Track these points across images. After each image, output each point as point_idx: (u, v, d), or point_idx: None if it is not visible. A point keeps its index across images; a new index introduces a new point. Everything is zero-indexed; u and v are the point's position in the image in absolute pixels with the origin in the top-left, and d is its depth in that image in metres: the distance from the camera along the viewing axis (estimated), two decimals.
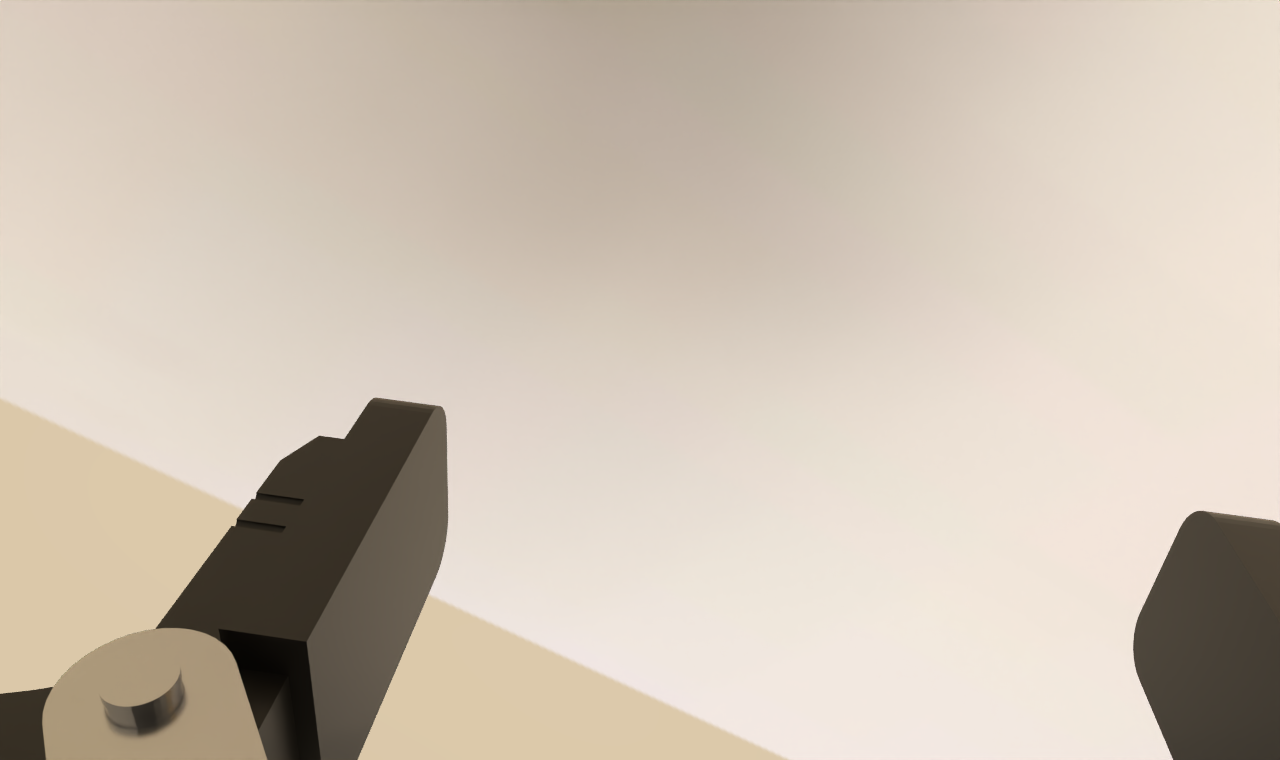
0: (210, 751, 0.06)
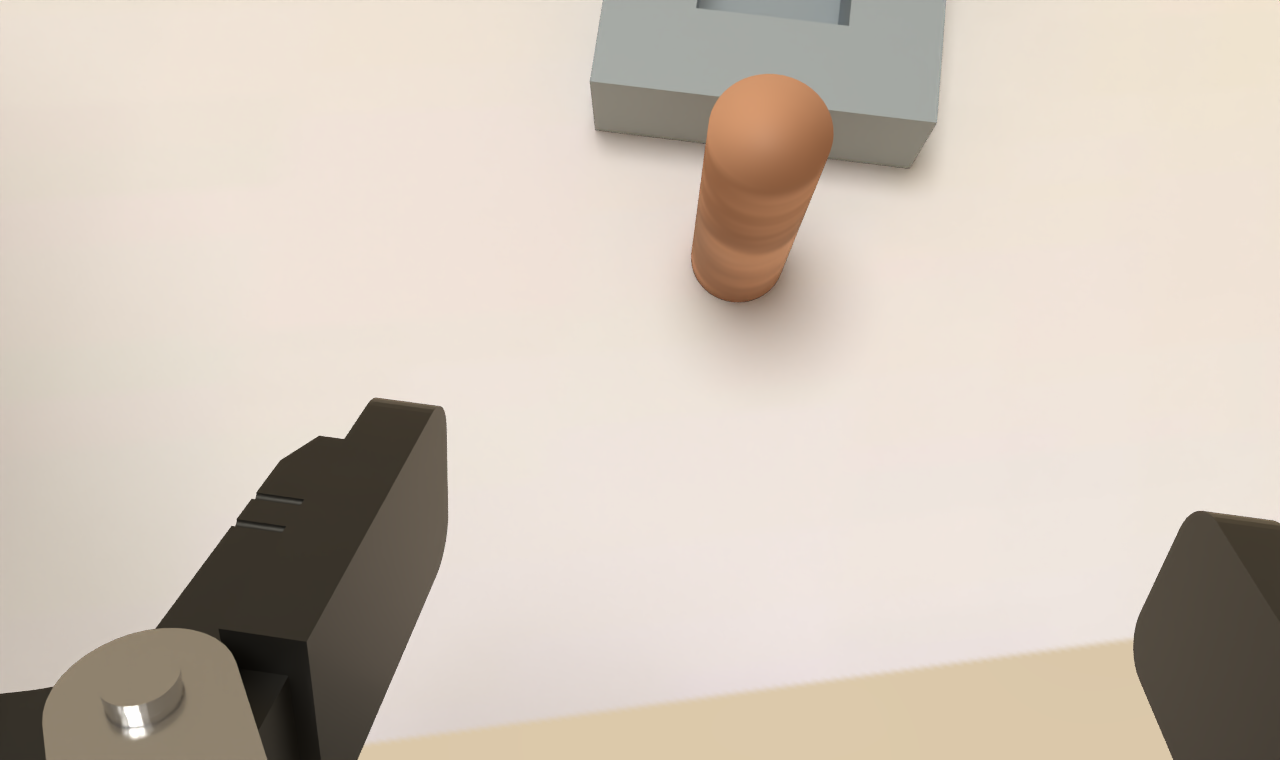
0: (210, 751, 0.06)
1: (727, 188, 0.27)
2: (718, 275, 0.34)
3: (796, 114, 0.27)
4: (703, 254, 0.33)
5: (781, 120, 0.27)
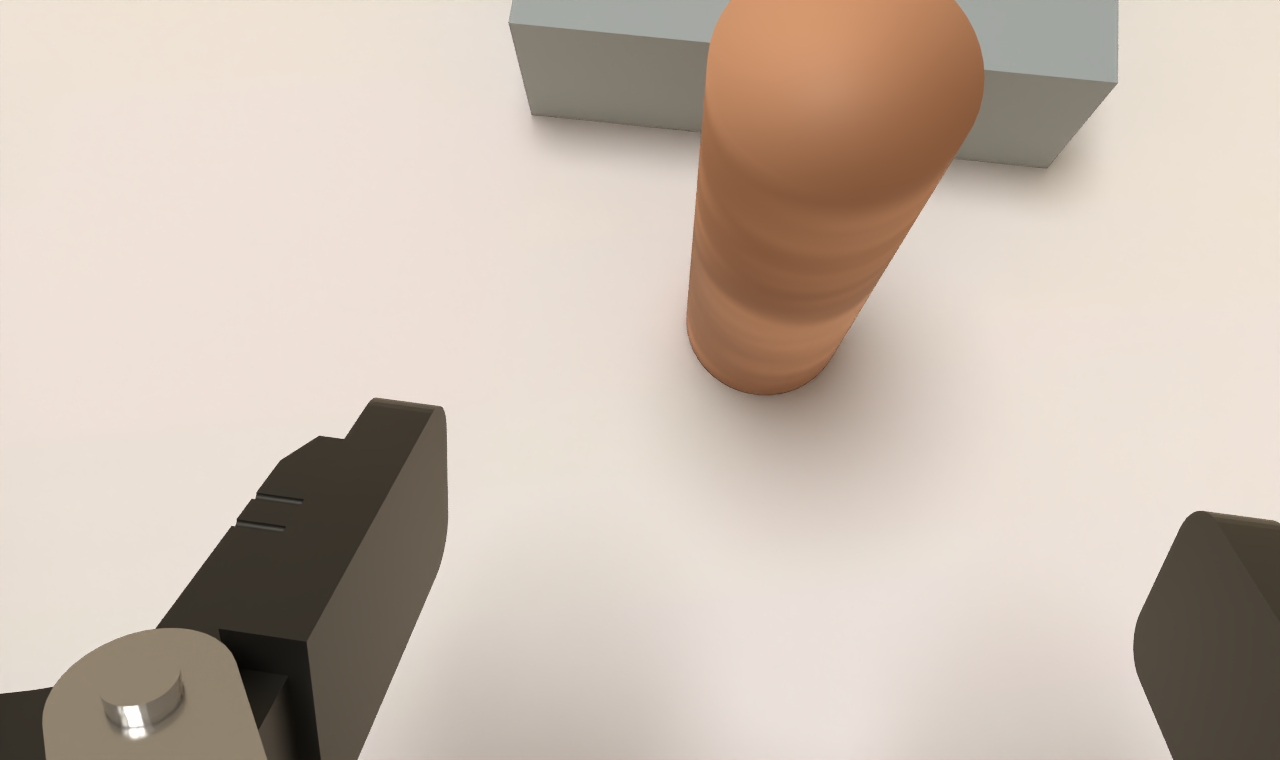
0: (210, 751, 0.06)
1: (750, 197, 0.13)
2: (731, 356, 0.19)
3: (899, 33, 0.12)
4: (705, 319, 0.19)
5: (868, 47, 0.12)
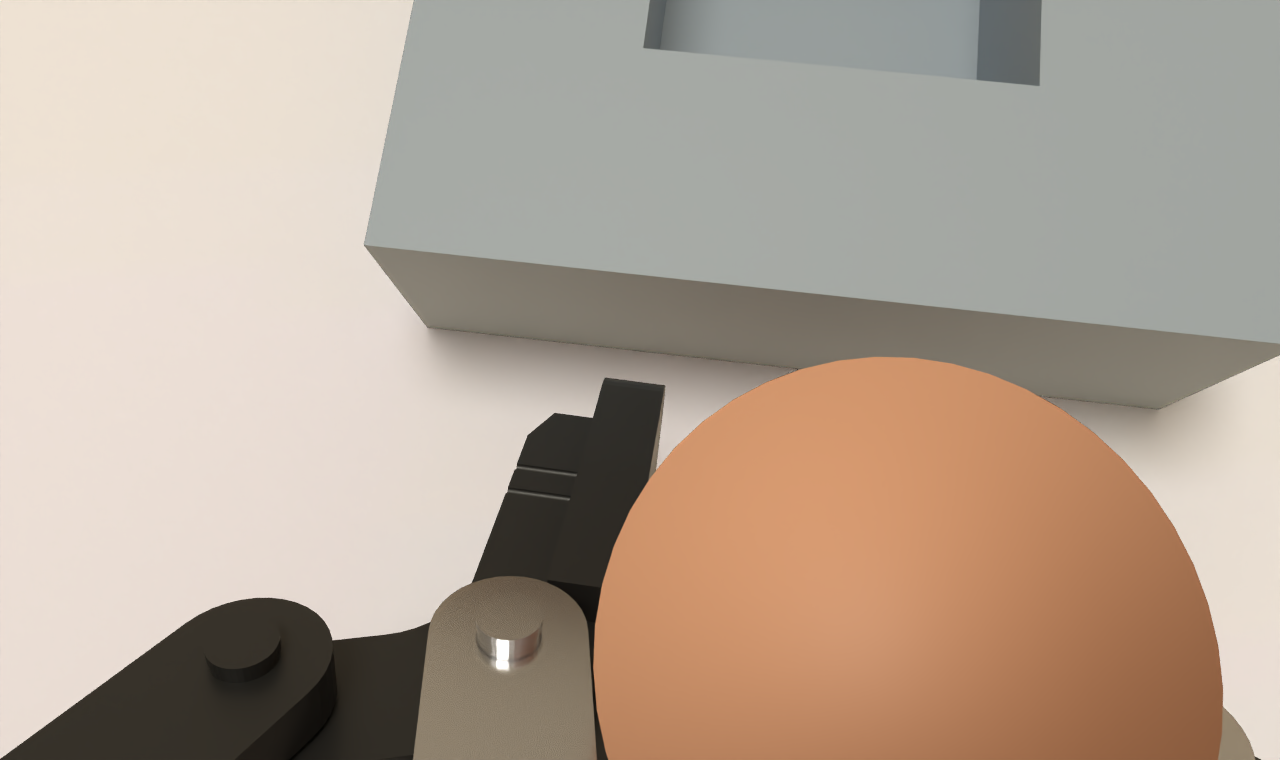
0: (587, 682, 0.07)
1: None
2: None
3: (1026, 566, 0.05)
4: None
5: (955, 602, 0.05)
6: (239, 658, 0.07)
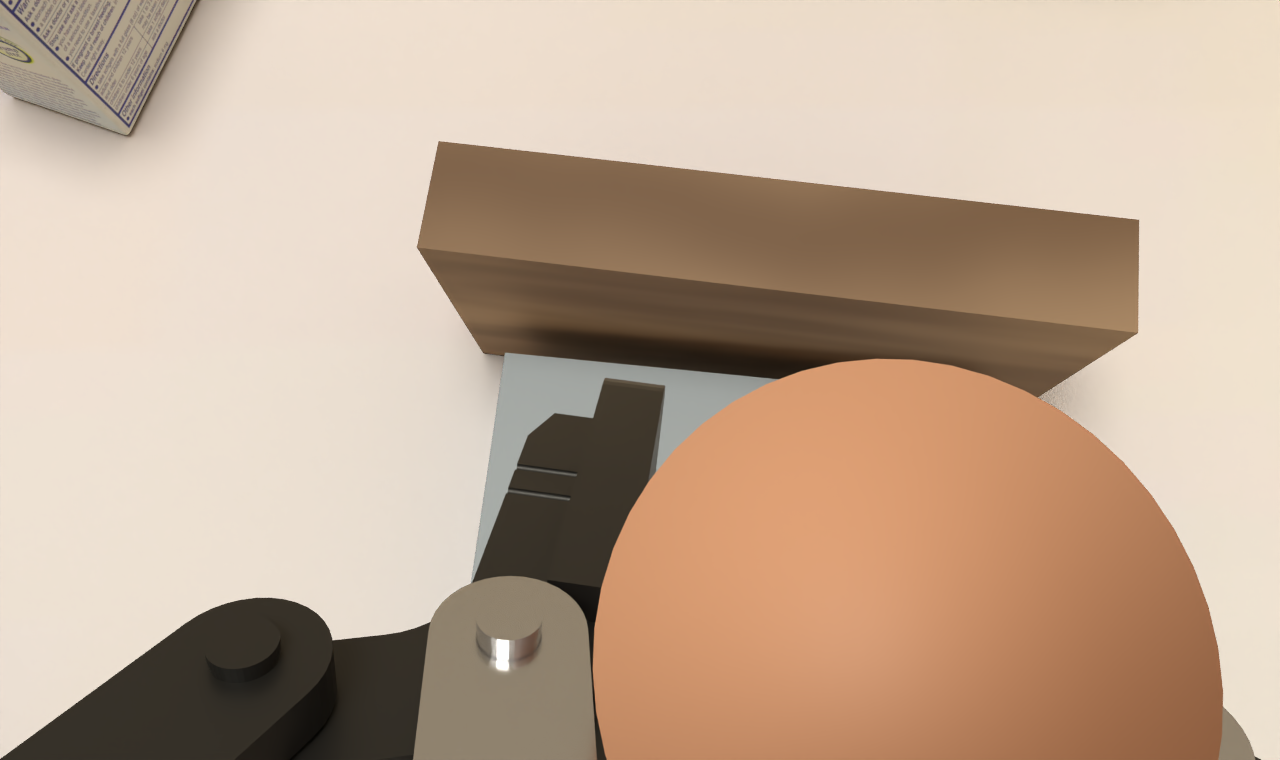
0: (587, 682, 0.07)
1: None
2: None
3: (1026, 570, 0.05)
4: None
5: (956, 605, 0.05)
6: (239, 658, 0.07)
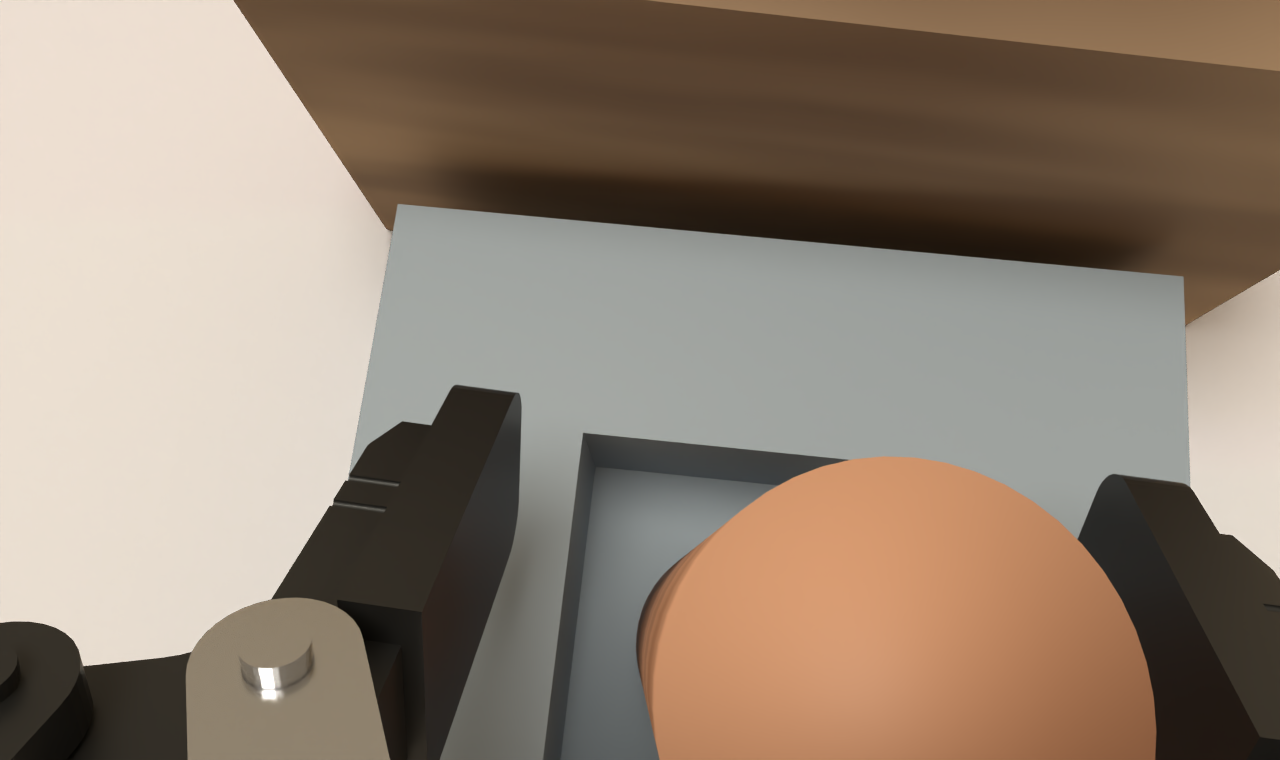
0: (347, 711, 0.07)
1: None
2: None
3: (1003, 633, 0.07)
4: None
5: (946, 662, 0.07)
6: None
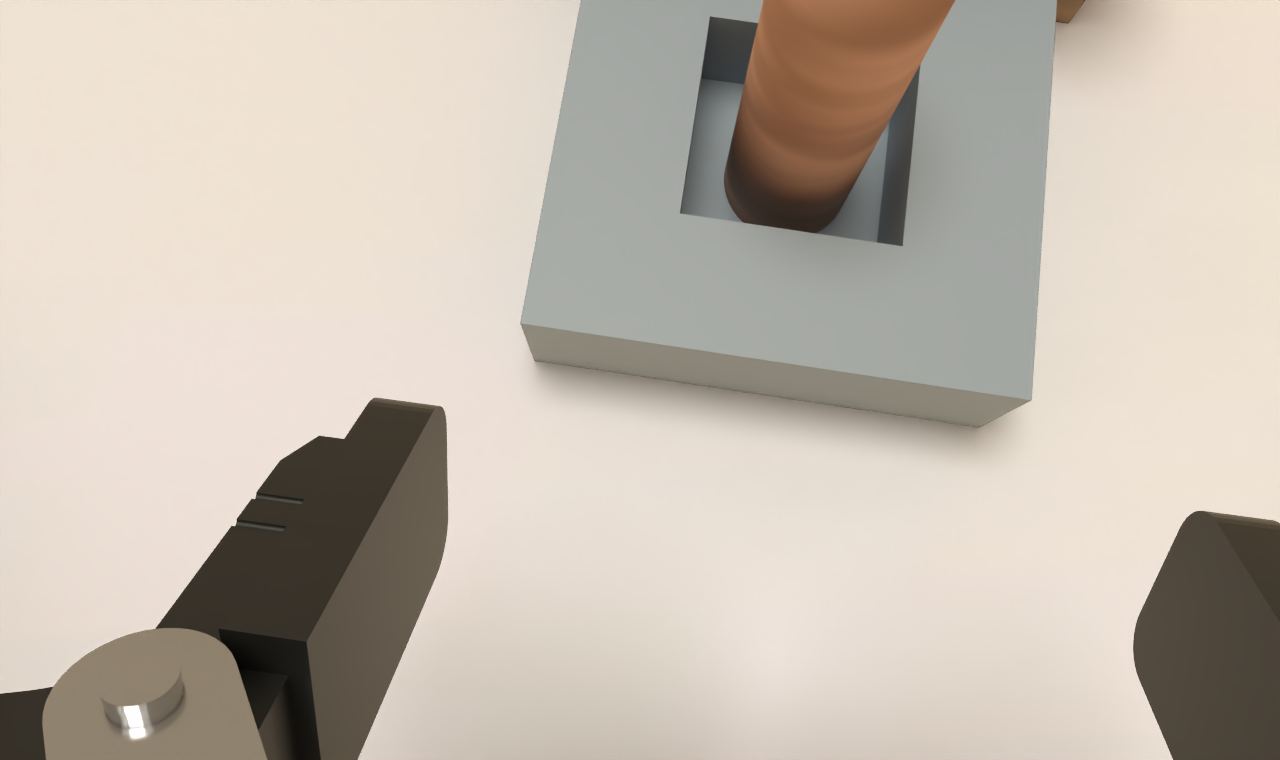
0: (210, 751, 0.06)
1: (799, 39, 0.18)
2: (762, 197, 0.25)
3: None
4: (744, 164, 0.24)
5: None
6: None
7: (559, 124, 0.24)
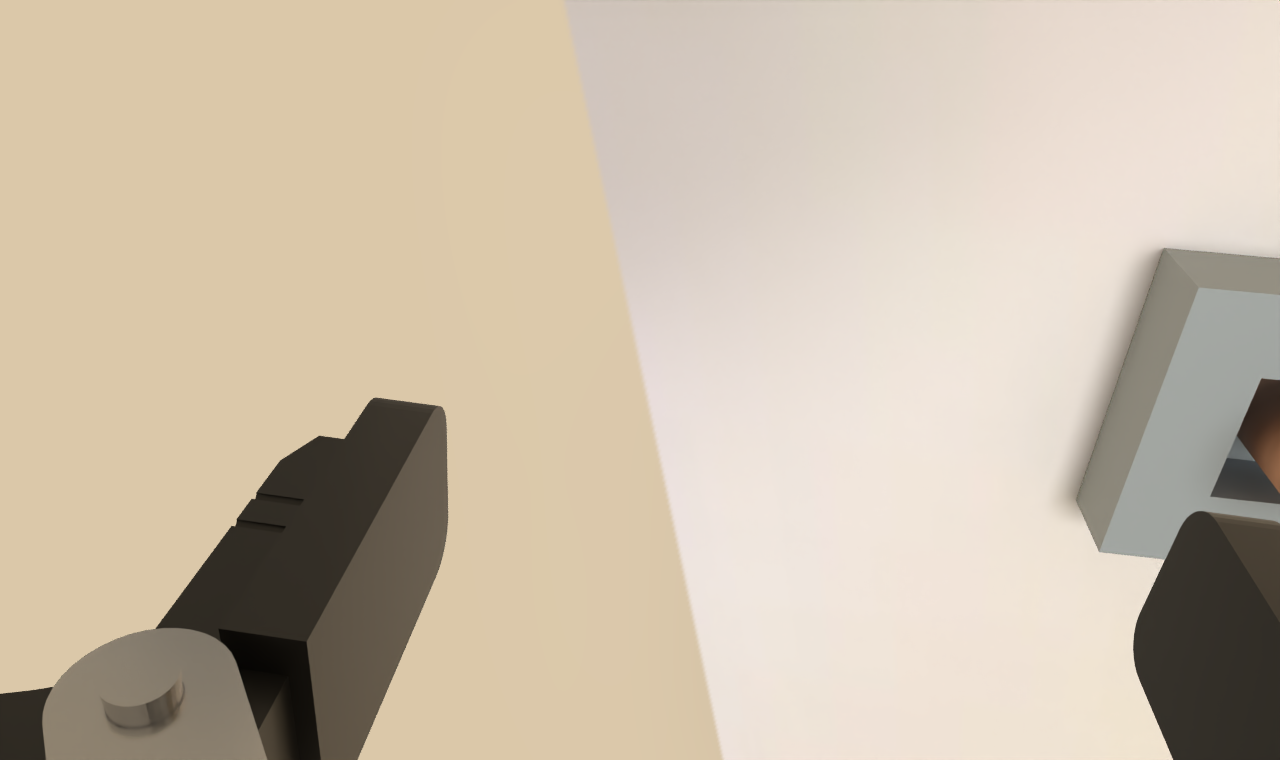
0: (210, 750, 0.06)
1: None
2: (1262, 415, 0.38)
3: None
4: None
5: None
6: None
7: None
